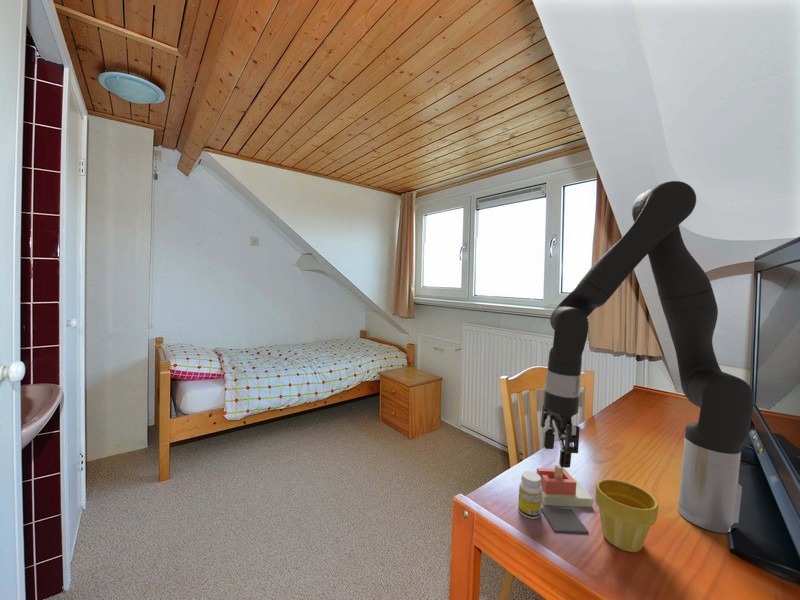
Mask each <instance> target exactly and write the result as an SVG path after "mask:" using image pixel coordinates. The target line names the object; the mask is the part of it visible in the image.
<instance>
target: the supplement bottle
mask: <svg viewBox="0 0 800 600" xmlns="http://www.w3.org/2000/svg"><path fill="white" fill-rule="evenodd" d="M520 479H521V480H520V482H519V486H518V487H519V488H518V489H519V490H518V493H519V494H518V507H517V509H518V512H519V513H520V515H522V516H523V517H525V518H528V519H532V520H536V519H538V518H540V517H541V513H542V511H541V508H542V503H543V502H542V486H541V477H540V475H538V474H537V472H535V471H532V470H525V471H523V472H522V473H521V478H520Z"/></svg>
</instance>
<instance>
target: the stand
mask: <svg viewBox="0 0 800 600" xmlns="http://www.w3.org/2000/svg"><path fill="white" fill-rule="evenodd" d="M554 469H555V474H554V479H563V469H564V467H561V466H560V465H559V464H556V465H555V466H554ZM573 479H574V480H575V481H576V482H577V483H576V495H564V494H545V492H544V491H543V489H542V502H541V503H542V504H543V505H544V506H549V507H550V506H552V507H553V506H556V507H576V508H577V507H579V508H593V504H594V498H593V497H592V496H591V494H590V493H589V492H588V491H587V490H586V489H585V488H584V486H582V484H581V483H580V482H579V481H578V480H577V479H576V478H573Z"/></svg>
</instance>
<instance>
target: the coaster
mask: <svg viewBox="0 0 800 600" xmlns="http://www.w3.org/2000/svg"><path fill="white" fill-rule="evenodd" d="M541 513H542V514H543V516H544V518H545V519H546V521H547V522H548V524H549V526H550V527H551V529H552V530H553V532H554V533H565V534H566V533H568V534H569V533H570V534H589V530H588V529H587V528H586V526H585V525H584V523H583V522H582V520H581V519H580V518H579V517H578V515H577V514H576V513H575V511H574V510H573V508H558V507H557V508H555V507H541Z"/></svg>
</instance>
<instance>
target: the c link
mask: <svg viewBox="0 0 800 600" xmlns="http://www.w3.org/2000/svg"><path fill="white" fill-rule="evenodd" d="M536 473H537V474H538V475H540V477H541V486H542V489H543V491H544V492H545V494H564V495H576V483H577V482H576V481H575V480H574V479H575V478H573V477H572V476H571V474H570V473H569V472H568V471H567V470H566V468H565V469H564V468H563V479H554V474H555V468H547V467H546V468H541V467H540V468H539V467H538V468H536Z"/></svg>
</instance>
